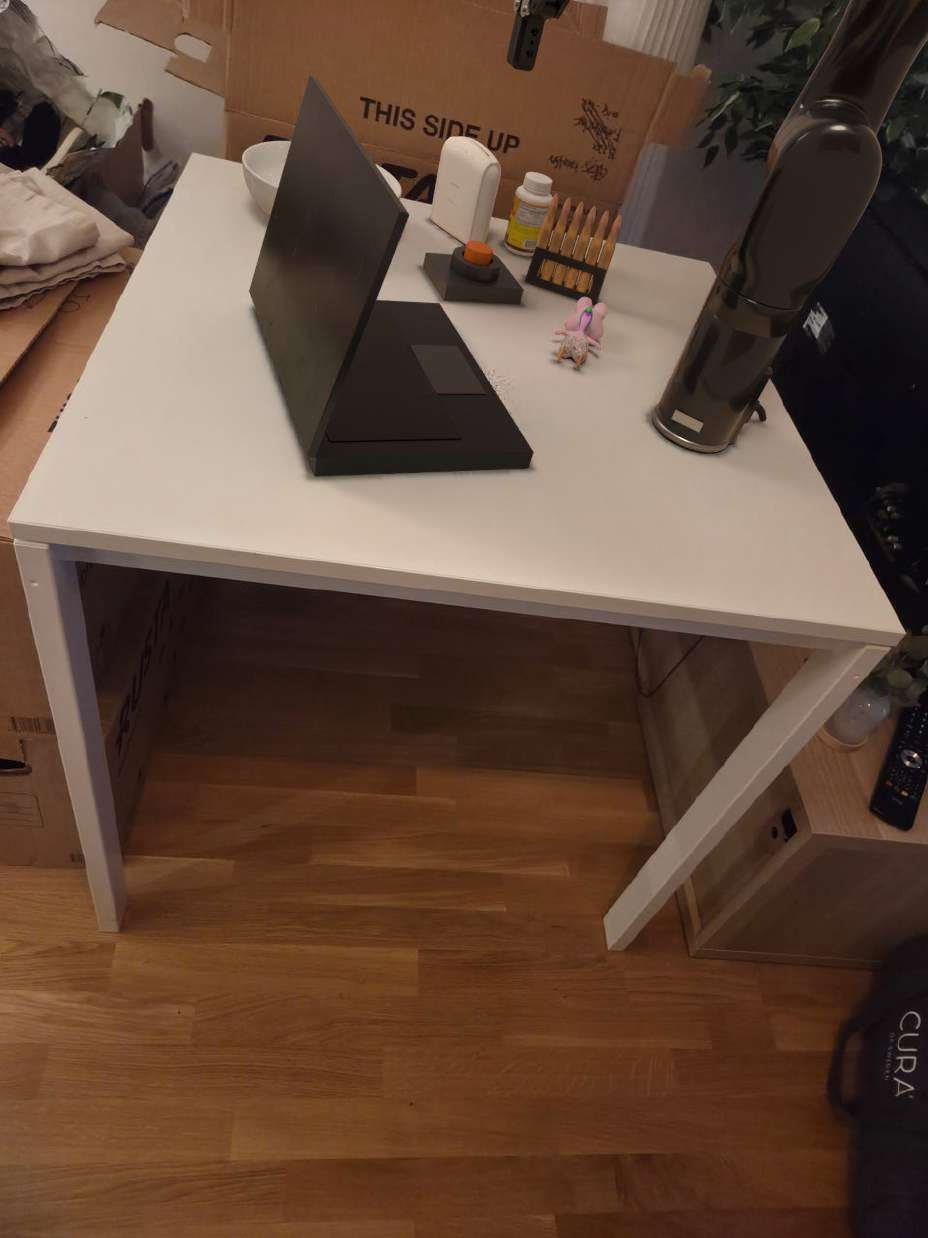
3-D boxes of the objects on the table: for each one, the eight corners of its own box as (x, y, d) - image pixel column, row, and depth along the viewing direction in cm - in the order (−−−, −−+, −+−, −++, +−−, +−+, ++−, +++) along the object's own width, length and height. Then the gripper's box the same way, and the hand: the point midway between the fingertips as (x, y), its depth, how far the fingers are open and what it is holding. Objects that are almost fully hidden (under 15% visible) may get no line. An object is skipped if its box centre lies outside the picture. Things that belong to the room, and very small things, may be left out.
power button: (484, 254, 105) (487, 241, 104) (494, 267, 103) (497, 253, 102) (459, 252, 104) (462, 239, 102) (469, 265, 101) (472, 251, 100)
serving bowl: (390, 271, 103) (399, 218, 98) (227, 237, 100) (228, 179, 95) (397, 212, 118) (405, 162, 113) (255, 180, 114) (256, 127, 109)
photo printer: (424, 218, 118) (441, 127, 110) (446, 216, 121) (464, 127, 112) (467, 249, 114) (487, 157, 105) (489, 247, 116) (510, 156, 108)
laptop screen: (318, 78, 74) (309, 74, 74) (411, 214, 57) (400, 210, 56) (256, 293, 88) (248, 291, 87) (316, 458, 70) (306, 456, 69)
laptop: (436, 318, 97) (439, 301, 96) (528, 468, 80) (534, 451, 78) (256, 310, 89) (256, 292, 87) (314, 476, 71) (316, 457, 70)
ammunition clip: (524, 282, 111) (549, 192, 102) (526, 277, 112) (551, 188, 103) (595, 306, 110) (627, 218, 102) (597, 301, 112) (628, 214, 103)
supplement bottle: (511, 237, 121) (530, 166, 114) (543, 251, 120) (564, 180, 113) (496, 247, 117) (514, 173, 110) (529, 261, 116) (549, 188, 109)
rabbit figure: (587, 384, 97) (613, 320, 106) (602, 343, 92) (628, 280, 101) (540, 367, 98) (569, 304, 106) (552, 325, 93) (582, 263, 101)
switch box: (495, 273, 111) (502, 244, 108) (519, 304, 105) (527, 275, 102) (422, 268, 106) (427, 238, 103) (443, 301, 101) (449, 270, 98)
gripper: (664, -177, 56) (585, 98, 69) (586, -199, 64) (527, 52, 76) (574, -208, 53) (508, 85, 66) (503, -227, 61) (456, 38, 74)
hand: (518, 66), depth 71 cm, fingers closed
